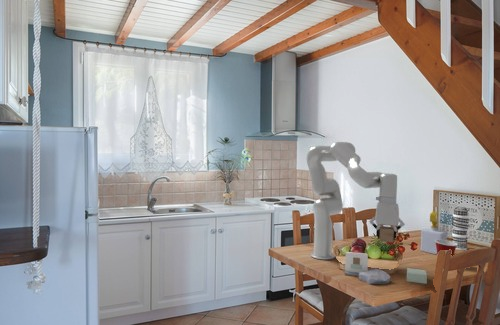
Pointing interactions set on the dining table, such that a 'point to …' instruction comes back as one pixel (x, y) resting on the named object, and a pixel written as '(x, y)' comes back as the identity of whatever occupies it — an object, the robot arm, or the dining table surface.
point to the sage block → (416, 275)
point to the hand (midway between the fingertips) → (386, 238)
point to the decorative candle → (460, 227)
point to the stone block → (374, 277)
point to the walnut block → (386, 234)
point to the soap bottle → (431, 236)
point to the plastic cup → (445, 245)
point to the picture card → (355, 263)
